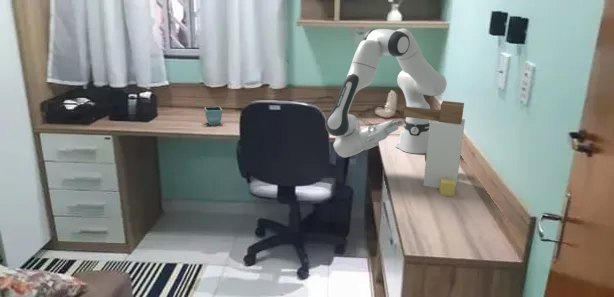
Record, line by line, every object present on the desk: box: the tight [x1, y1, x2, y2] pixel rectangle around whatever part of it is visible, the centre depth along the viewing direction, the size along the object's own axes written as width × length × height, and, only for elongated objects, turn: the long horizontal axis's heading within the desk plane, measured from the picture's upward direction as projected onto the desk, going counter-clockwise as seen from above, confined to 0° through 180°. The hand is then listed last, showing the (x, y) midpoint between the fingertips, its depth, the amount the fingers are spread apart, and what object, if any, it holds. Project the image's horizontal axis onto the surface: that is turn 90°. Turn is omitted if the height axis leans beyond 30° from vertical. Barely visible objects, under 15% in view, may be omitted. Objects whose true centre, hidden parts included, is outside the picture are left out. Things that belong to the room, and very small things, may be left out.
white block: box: [423, 118, 466, 189], centre depth 198 cm, size 12×12×26 cm
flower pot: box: [204, 106, 223, 126], centre depth 279 cm, size 9×9×9 cm
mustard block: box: [438, 179, 457, 197], centre depth 191 cm, size 5×5×5 cm
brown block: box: [403, 100, 465, 124], centre depth 195 cm, size 7×22×7 cm, turn 69°
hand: (400, 124), depth 202 cm, fingers open, 8 cm apart
